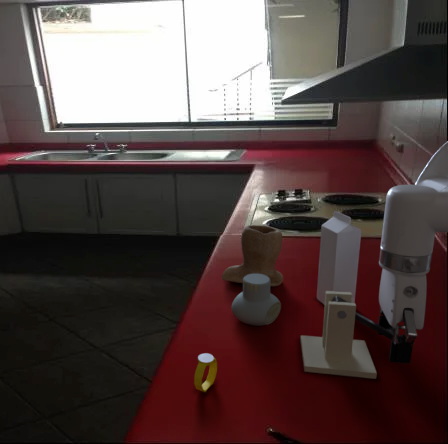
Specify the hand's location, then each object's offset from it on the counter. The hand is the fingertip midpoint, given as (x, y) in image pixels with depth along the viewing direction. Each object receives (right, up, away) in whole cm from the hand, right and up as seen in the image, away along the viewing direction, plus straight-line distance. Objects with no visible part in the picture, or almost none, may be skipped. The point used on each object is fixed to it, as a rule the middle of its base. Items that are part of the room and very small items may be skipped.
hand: (392, 347), depth 76 cm
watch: (-34, -6, -2) cm, 35 cm away
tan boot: (-17, +7, +37) cm, 41 cm away
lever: (-6, +4, 0) cm, 7 cm away
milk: (-1, +4, +23) cm, 23 cm away
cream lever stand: (-9, -3, +3) cm, 10 cm away
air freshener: (-21, +1, +18) cm, 28 cm away
